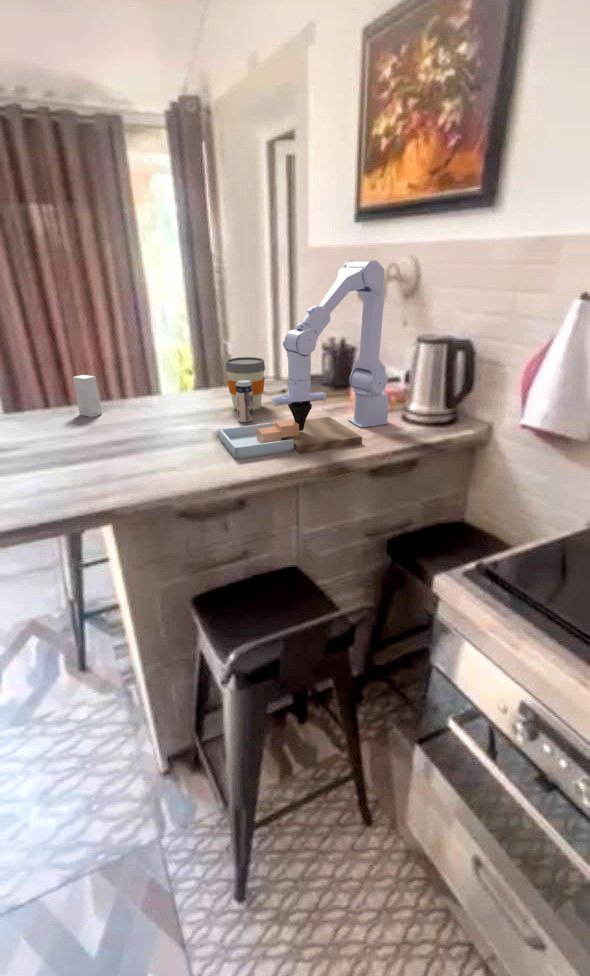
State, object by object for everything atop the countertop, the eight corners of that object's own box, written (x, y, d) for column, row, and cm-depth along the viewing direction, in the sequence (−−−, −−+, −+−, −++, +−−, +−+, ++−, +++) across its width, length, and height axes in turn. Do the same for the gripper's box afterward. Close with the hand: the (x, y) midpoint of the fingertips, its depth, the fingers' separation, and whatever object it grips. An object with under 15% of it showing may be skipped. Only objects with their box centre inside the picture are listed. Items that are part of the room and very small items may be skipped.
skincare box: (102, 414, 162) (96, 376, 157) (91, 417, 159) (84, 378, 154) (90, 411, 165) (83, 374, 160) (79, 414, 162) (71, 376, 157)
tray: (272, 432, 144) (272, 422, 142) (293, 451, 130) (293, 439, 129) (219, 439, 138) (218, 429, 137) (235, 459, 125) (235, 448, 124)
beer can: (251, 423, 152) (249, 383, 147) (235, 422, 152) (233, 382, 148) (255, 419, 156) (253, 379, 151) (240, 418, 157) (238, 379, 152)
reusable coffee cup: (265, 412, 163) (263, 364, 157) (225, 412, 163) (222, 364, 157) (267, 401, 174) (266, 356, 168) (230, 402, 174) (227, 357, 168)
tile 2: (292, 429, 139) (292, 419, 138) (299, 435, 135) (299, 424, 134) (274, 432, 138) (274, 421, 136) (281, 437, 133) (281, 426, 132)
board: (329, 423, 151) (329, 416, 150) (361, 444, 134) (362, 436, 134) (271, 430, 145) (271, 423, 145) (298, 453, 128) (297, 446, 128)
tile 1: (274, 437, 138) (274, 426, 137) (281, 442, 134) (280, 431, 133) (256, 439, 137) (256, 428, 135) (262, 445, 132) (262, 434, 131)
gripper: (319, 373, 137) (318, 422, 143) (267, 378, 133) (269, 428, 138) (330, 378, 131) (329, 429, 137) (276, 383, 127) (278, 436, 132)
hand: (299, 429), depth 137 cm, fingers closed
